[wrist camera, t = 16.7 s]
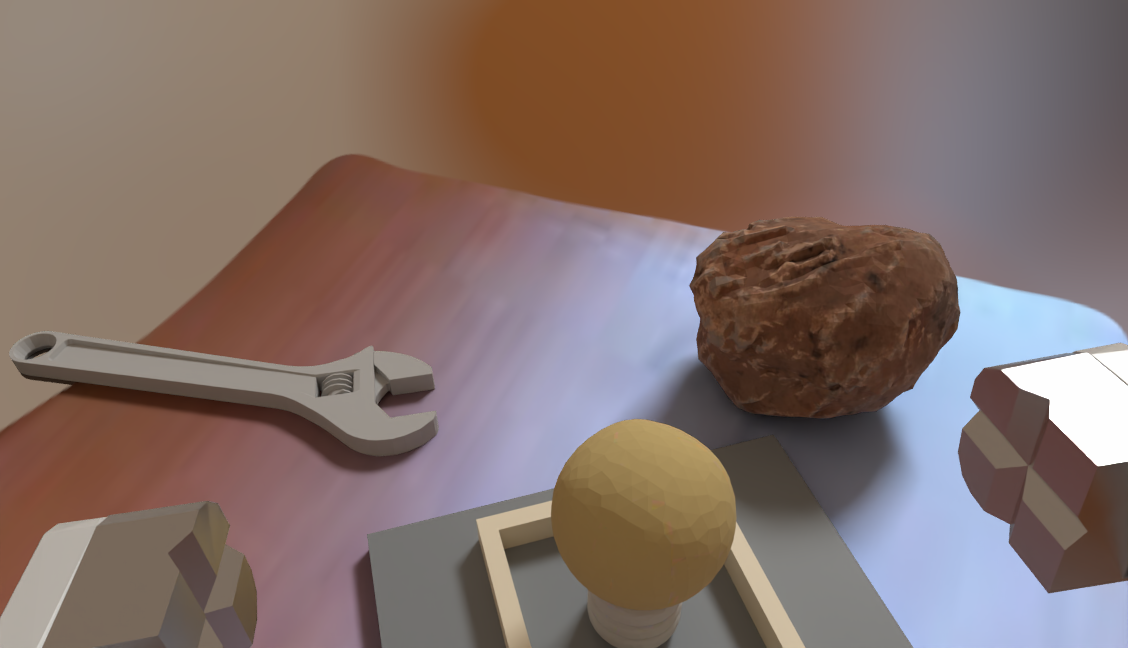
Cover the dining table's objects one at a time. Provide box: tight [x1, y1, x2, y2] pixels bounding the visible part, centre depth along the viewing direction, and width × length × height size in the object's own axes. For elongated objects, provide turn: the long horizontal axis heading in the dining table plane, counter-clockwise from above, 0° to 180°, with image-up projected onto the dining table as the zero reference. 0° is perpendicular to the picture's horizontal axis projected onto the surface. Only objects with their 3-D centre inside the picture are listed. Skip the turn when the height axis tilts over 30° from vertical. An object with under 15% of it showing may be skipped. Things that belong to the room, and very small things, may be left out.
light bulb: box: [551, 419, 737, 648], centre depth 29 cm, size 6×6×10 cm
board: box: [367, 435, 913, 648], centre depth 32 cm, size 20×14×2 cm
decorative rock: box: [689, 217, 960, 418], centre depth 41 cm, size 13×11×10 cm
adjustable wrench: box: [9, 331, 439, 456], centre depth 44 cm, size 25×6×2 cm, turn 74°
